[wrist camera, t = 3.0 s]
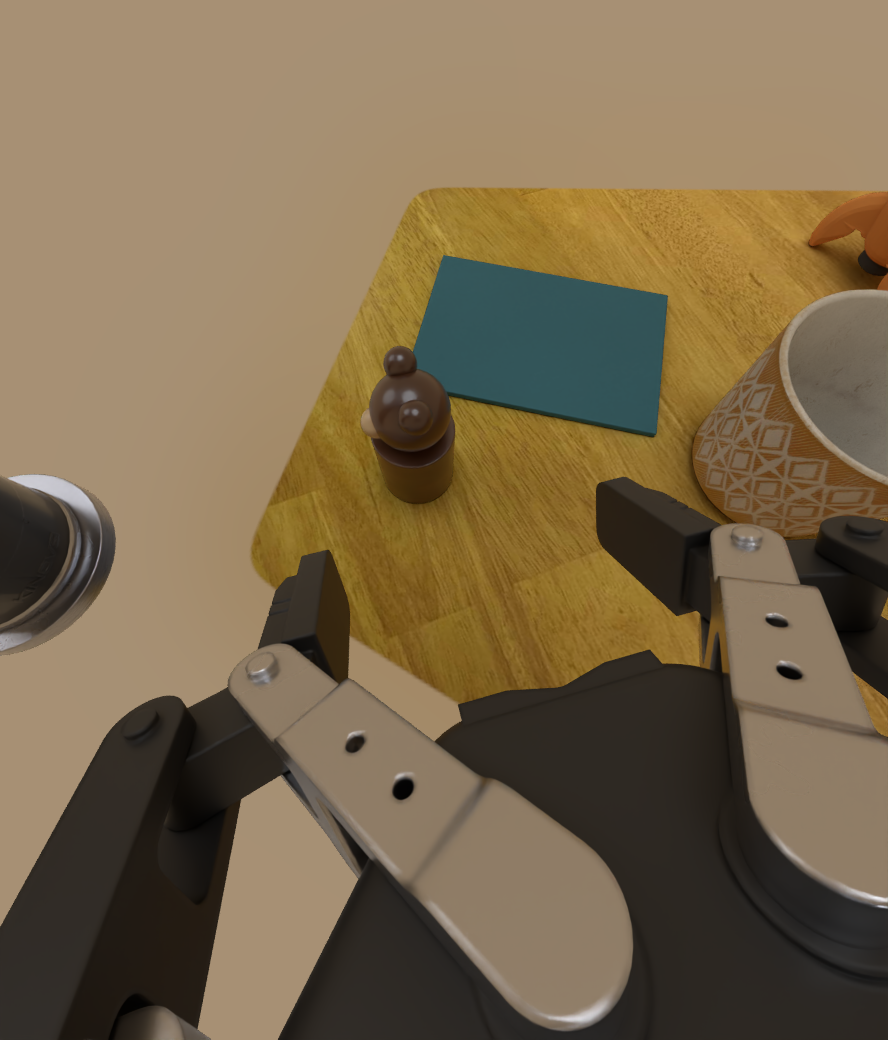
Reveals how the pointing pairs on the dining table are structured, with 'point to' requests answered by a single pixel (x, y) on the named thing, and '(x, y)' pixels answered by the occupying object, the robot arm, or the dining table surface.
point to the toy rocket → (875, 216)
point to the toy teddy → (411, 429)
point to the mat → (545, 344)
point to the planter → (805, 422)
